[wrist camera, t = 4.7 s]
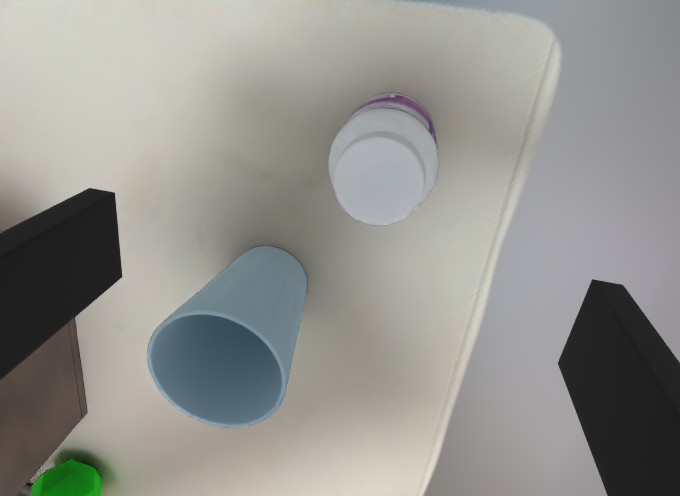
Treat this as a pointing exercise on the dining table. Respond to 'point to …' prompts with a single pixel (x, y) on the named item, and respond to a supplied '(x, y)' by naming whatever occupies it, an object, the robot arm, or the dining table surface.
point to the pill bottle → (384, 160)
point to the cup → (233, 341)
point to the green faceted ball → (68, 481)
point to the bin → (39, 408)
